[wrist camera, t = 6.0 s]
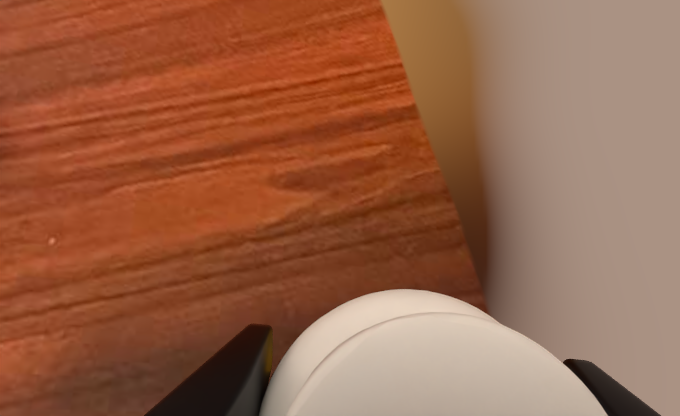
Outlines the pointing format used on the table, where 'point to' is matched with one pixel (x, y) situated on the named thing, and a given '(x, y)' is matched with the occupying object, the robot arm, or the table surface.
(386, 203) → the table surface
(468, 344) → the supplement bottle
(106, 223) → the table surface
